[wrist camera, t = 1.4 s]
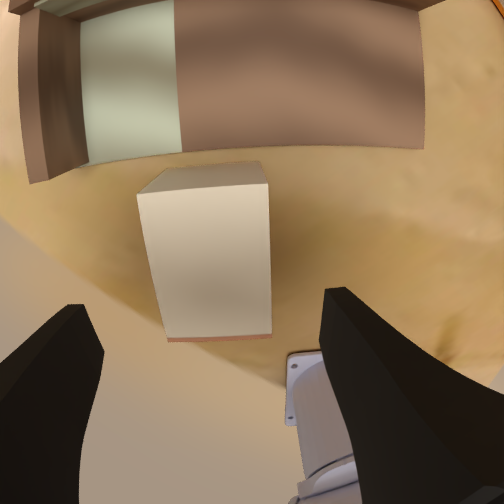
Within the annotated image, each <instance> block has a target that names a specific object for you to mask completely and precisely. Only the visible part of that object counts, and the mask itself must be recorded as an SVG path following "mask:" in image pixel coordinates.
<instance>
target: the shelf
mask: <svg viewBox="0 0 504 504" xmlns="http://www.w3.org/2000/svg"><path fill="white" fill-rule="evenodd" d="M442 1H445V0H10V2H9V10H8V12H10V13H14V14H17V15H20V27H19V45H18V88H19V107H20V119H21V130H22V138H23V146H24V153H25V160H26V166H27V172H28V178H29V183H30V184H33V183H37V182H42V181H46V180H50V179H52V178H54V177H56V176H58V175H61V174H63V173H65V172H67V171H70V170H72V169H74V168H79V167H84V166H90V165H95V164H101V163H106V162H112V161H118V160H125V159H131V158H138V157H145V156H153V155H161V154H169V153H178V152H189V151H199V150H210V149H223V148H237V147H255V146H279V145H359V146H383V147H399V148H413V149H424V135H425V86H424V65H423V51H422V40H421V30H420V22H419V15H418V11H420V10H423V9H425V8H427V7H430V6H432V5H435V4H437V3H440V2H442Z"/></svg>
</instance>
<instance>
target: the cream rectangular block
mask: <svg viewBox="0 0 504 504" xmlns="http://www.w3.org/2000/svg"><path fill="white" fill-rule="evenodd" d="M136 195H137V201H138V208H139V213H140V219H141V225H142V230H143V236H144V241H145V246H146V251H147V256H148V261H149V266H150V270H151V275H152V279H153V284H154V288H155V292H156V297H157V301H158V305H159V309H160V313H161V317H162V321H163V325H164V328H165V332H166V336H167V339H168V342H203V341H229V340H248V339H264V338H272V304H271V262H270V228H269V198H268V182H267V180H266V177H265V175H264V172H263V170H262V167H261V165H260V162H259V161H251V162H234V163H220V164H208V165H196V166H186V167H176V168H167V169H166V170H165V171H163V172H162V173H161V174H160V175H158V176H157V177H156V178H155V179H154V180H153V181H151V182H150V183H149V184H148V185H147V186H146V187H144V188H143V189H142V190H141V191H140V192H139V193H137V194H136Z"/></svg>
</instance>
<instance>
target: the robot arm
mask: <svg viewBox="0 0 504 504" xmlns="http://www.w3.org/2000/svg"><path fill="white" fill-rule="evenodd" d="M319 343H320V347H321V351H315V352H306V353H296V354H291V355H289V356H288V358H287V383H286V407H285V424H286V425H287V426H296V425H297V430H298V437H299V444H300V450H301V456H302V463H303V469H304V474H305V478H306V480H305V481H302V482H299V483H297V485H298V494H299V495H298V496H295V497H293V498H292V499H291V500H290V501H289V503H288V504H504V394H501V393H499V392H496V391H494V390H492V389H490V388H487V387H485V386H483V385H481V384H479V383H477V382H475V381H473V380H471V379H469V378H467V377H466V376H464V375H462V374H460V373H458V372H457V371H455V370H453V369H452V368H450V367H448V366H447V365H445V364H444V363H442V362H440V361H439V360H437V359H436V358H434V357H433V356H431V355H430V354H428V353H427V352H425V351H424V350H422V349H421V348H420V347H418V346H417V345H416V344H414V343H413V342H412V341H410V340H409V339H407V338H406V337H405V336H404V335H402V334H401V333H400V332H398V331H397V330H396V329H395V328H393V327H392V326H391V325H390V324H389V323H387V322H386V321H385V320H384V319H382V318H381V317H380V316H379V315H378V314H377V313H375V312H374V311H373V310H372V309H371V308H370V307H368V306H367V305H366V304H365V303H364V302H363V301H361V300H360V299H359V298H358V297H357V296H356V295H354V294H353V293H352V292H351V291H350V290H348V289H347V288H346V287H338V288H329V289H325V293H324V302H323V311H322V320H321V328H320V335H319ZM103 358H104V349H103V347H102V345H101V343H100V341H99V339H98V336H97V334H96V332H95V330H94V328H93V325H92V323H91V321H90V318H89V316H88V314H87V311H86V309H85V306H84V304H71V305H69V304H68V305H67V306H65V307H64V308H62V309H61V310H60V311H59V312H57V313H56V314H55V315H54V316H53V317H51V318H50V319H49V320H48V321H47V322H46V323H44V324H43V325H42V326H41V327H40V328H39V329H38V330H37V331H36V332H35V333H34V334H32V335H31V336H30V337H29V338H28V339H27V340H26V341H25V342H24V343H23V344H21V345H20V346H19V347H18V348H17V349H16V350H15V351H14V352H12V353H11V354H10V355H9V356H8V357H7V358H6V359H5V360H3V361H2V362H1V363H0V504H79V471H80V460H81V450H82V444H83V439H84V434H85V431H86V427H87V423H88V419H89V416H90V412H91V409H92V405H93V402H94V398H95V395H96V391H97V388H98V384H99V381H100V376H101V370H102V364H103ZM293 364H295V365H293Z"/></svg>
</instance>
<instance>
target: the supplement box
mask: <svg viewBox="0 0 504 504" xmlns="http://www.w3.org/2000/svg"><path fill="white" fill-rule="evenodd" d="M493 2H494V3H495V5H496V6H497V8H498V9H499V11H500V12H501V14H502V15H503V17H504V0H493Z"/></svg>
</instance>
